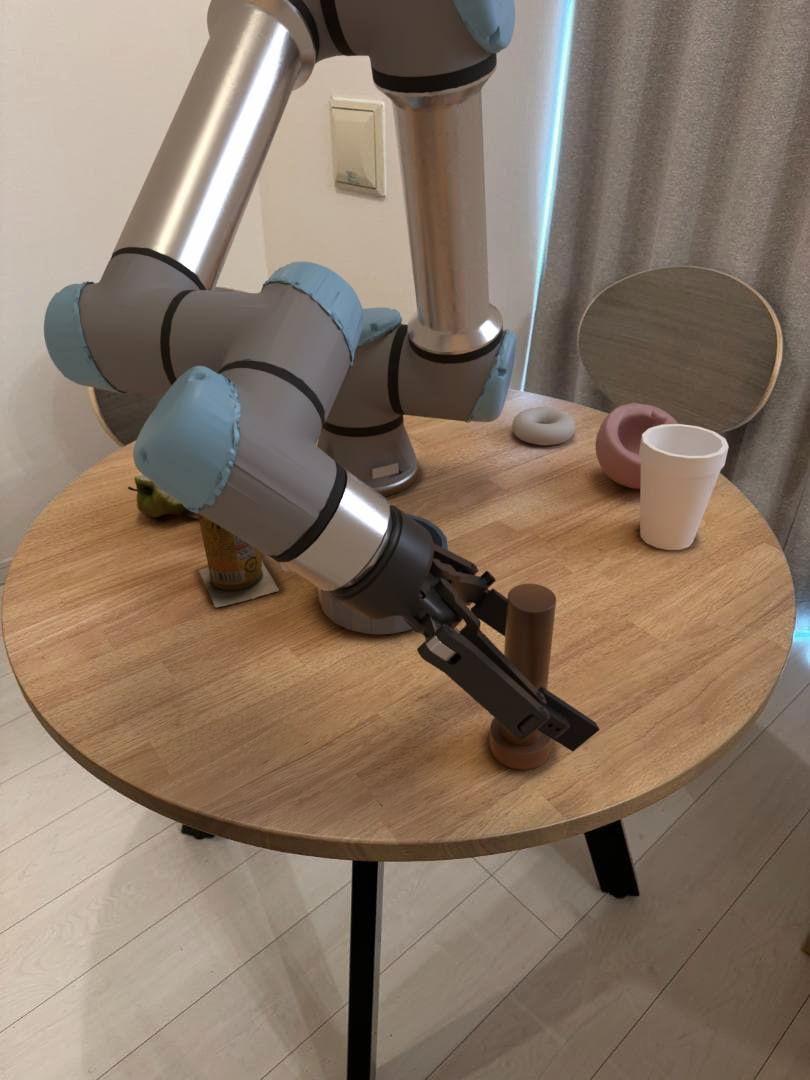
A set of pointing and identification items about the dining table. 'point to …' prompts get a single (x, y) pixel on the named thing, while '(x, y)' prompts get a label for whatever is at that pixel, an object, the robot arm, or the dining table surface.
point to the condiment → (232, 567)
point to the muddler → (526, 669)
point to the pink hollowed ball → (626, 440)
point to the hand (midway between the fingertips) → (555, 682)
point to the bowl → (361, 624)
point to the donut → (543, 426)
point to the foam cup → (677, 482)
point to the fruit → (157, 500)
